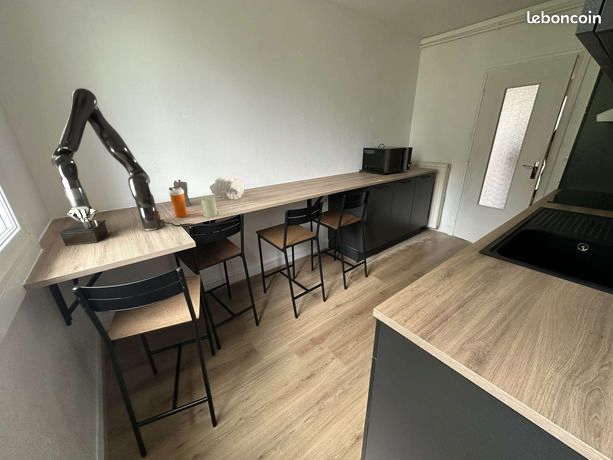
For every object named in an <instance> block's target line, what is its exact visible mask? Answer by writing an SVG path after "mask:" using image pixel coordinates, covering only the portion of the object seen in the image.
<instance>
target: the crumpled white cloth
mask: <svg viewBox="0 0 613 460" xmlns="http://www.w3.org/2000/svg"><path fill="white" fill-rule="evenodd" d="M214 180H215V181H214V183H212V184H211V185H209V189H210V192H211V193H212V194H213V195H214V197H220V198H224V199H229V200H234V201H237V200H238V199H241V197H242V195H244V192H245V184H244V183H243V180H241V179H240V178H235V177H233V178H231V177H229V176H226V177H225V176H224V175H221V176H218V177H217V178H216V179H214Z"/></svg>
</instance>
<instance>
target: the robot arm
mask: <svg viewBox="0 0 613 460" xmlns="http://www.w3.org/2000/svg"><path fill="white" fill-rule="evenodd" d="M70 99H71V108H70V111H69V115H68V118H67V121H66V123H65V125H64V127H63V130H62V132H61V135H60V138H59V141H58V145H57V146H56V148H55V150H54V151H53V153H52V155H51V160H50V162H51V165H52V166H53V167H54V168H55V169H58V172H59V174H60V177H59V180H60V183H61V186H62V188H63V192H64V195H65V198H66V200H67V202H68V204H69V207H70V211H68V212H67V216H69V217H70V218H72V219H74V220H75V221H76V222H77V223H83V225H84V227H85V228H86V229H89V228H91V227H92V224H91V220H92V219H94V217H97V216H96V215H97V214H98V212H99V210H98V209H94V208H92V206H91V204H90V202H89V198H88V196H87V193H86V191H85V189H84V186H83V184H82V182H81V179H80V177H79V169H78V165H77V162H76V161H75V159H74V155H75V154H76V153H78V151H79V149H80V147H81V144H82V141H83V138H84V134H85V130H86V126H87V123H89V125H90V126H91V128H92V130H93V131H94V133H95V135H96V136H97V138H98V140H99V141H100V143H101V144H102V145H103V147H104V148H105V150H106V151H107V152H108V154H110V155H111V157H112V158H113V159H115V161H116V162H118V163H119V164H120V165H121V166H123V168H124V169H125V170H126V172H127V174H128V176H129V177H128V179H127V183H128V187H129V190H130V192H131V196H132V198H133V199H134V201H135V204H136V209H137V211H138V215H139V219H140V222H141V225H142V229H143V231H146V232H151V231H155V230H160V229H161V228H162V227H164V225H170V226H171V225H172V226H174V227H183V226H184V227H185V226H195V227H215V226H221V225H225V224H230V223H235V222H239V221H240V219H233V220H229V221H223V222H219V223H211V224H200V223H194V222H193V223H192V222H191V223H190V222H188V223H181V224H175V223H173V222H169V221H165V219H161V215H160V212H159V210H158V208H157V205H156V202H155V197H154V195H153V194H152V192H151V189H150V186H149V185H150V183H151V178H150V176H149V174H148V173H147V172H146V171H145V170H144V169H143V167H142V166H141V165H140V163H139V162H138V161H137V159H136V157H135V156H134V155H133V153H132V151H131V150H130V148H129V147H128V145H127V143H126V141H125V140H124V139H123V137H122V136H121V135H120V134H119V132H118V131H117V130H116V129H115V128H114V127H113V126H112V124H110V122H109V121H108V120H107V119H106V118H105V116H104V115H103V113H102V111H101V109H100V108H99V106H98V99H97V96H96V95H95V93H94V92H92V91H91V90H90V89H87V88H83V87H79V88H76V89H74V90H73V91H72V93H71V98H70Z"/></svg>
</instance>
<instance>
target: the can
mask: <svg viewBox="0 0 613 460" xmlns="http://www.w3.org/2000/svg"><path fill="white" fill-rule="evenodd" d="M215 197H216V196H203V197H201V198H200V203H201V209H202V214H203V215H202V216H203V217H205V218H212V217H216V216H217V215H218V210H217V203H216V198H215Z"/></svg>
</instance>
